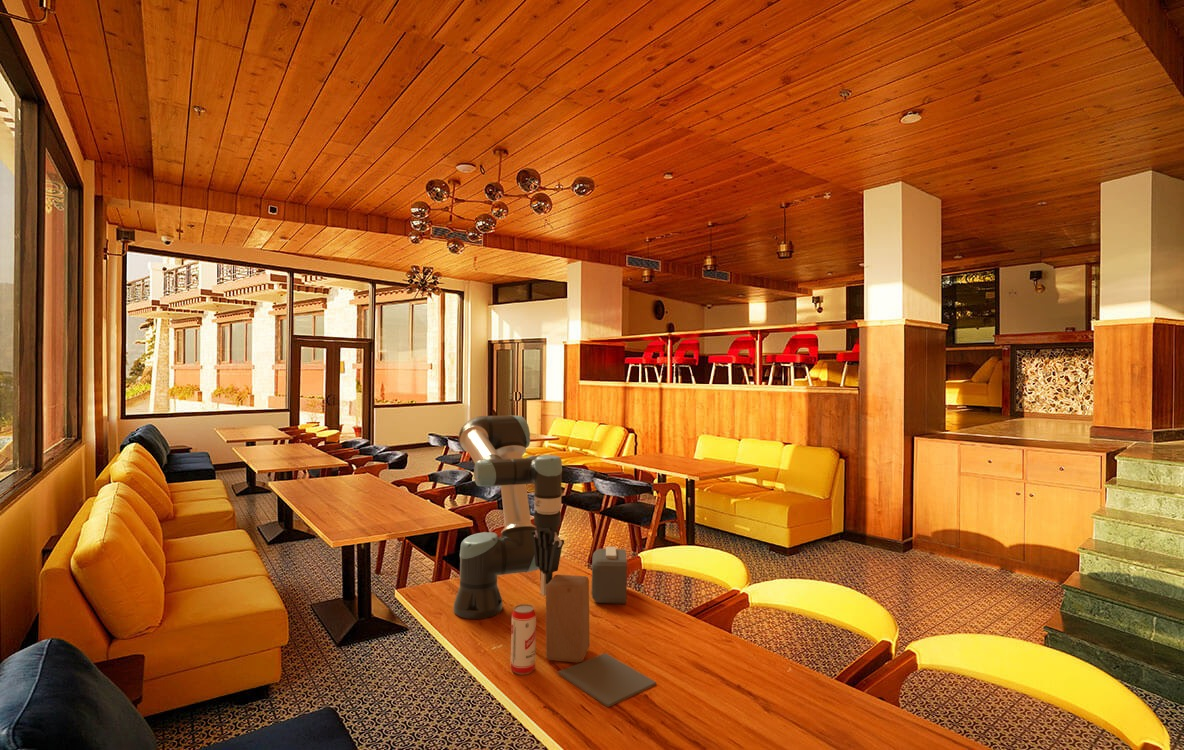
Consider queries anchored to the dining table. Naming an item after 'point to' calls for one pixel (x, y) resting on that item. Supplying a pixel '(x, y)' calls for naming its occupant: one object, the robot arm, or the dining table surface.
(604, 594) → the alarm clock
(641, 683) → the mat
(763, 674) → the dining table surface
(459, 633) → the dining table surface
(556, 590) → the wooden block
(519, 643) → the beer can
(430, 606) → the dining table surface
